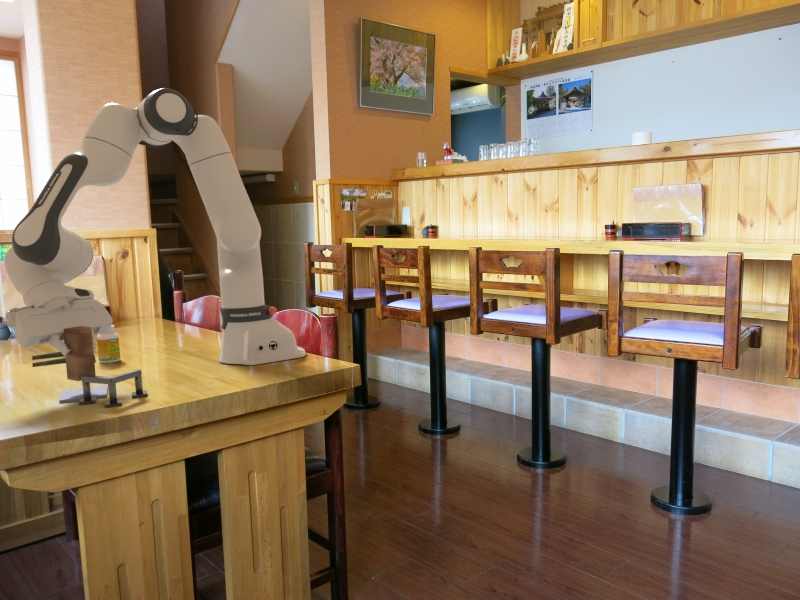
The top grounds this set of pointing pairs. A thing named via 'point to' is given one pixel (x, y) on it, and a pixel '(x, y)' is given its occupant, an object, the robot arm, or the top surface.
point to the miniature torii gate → (49, 362)
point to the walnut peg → (79, 352)
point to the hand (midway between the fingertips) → (81, 351)
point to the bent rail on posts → (112, 387)
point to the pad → (78, 394)
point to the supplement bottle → (108, 346)
